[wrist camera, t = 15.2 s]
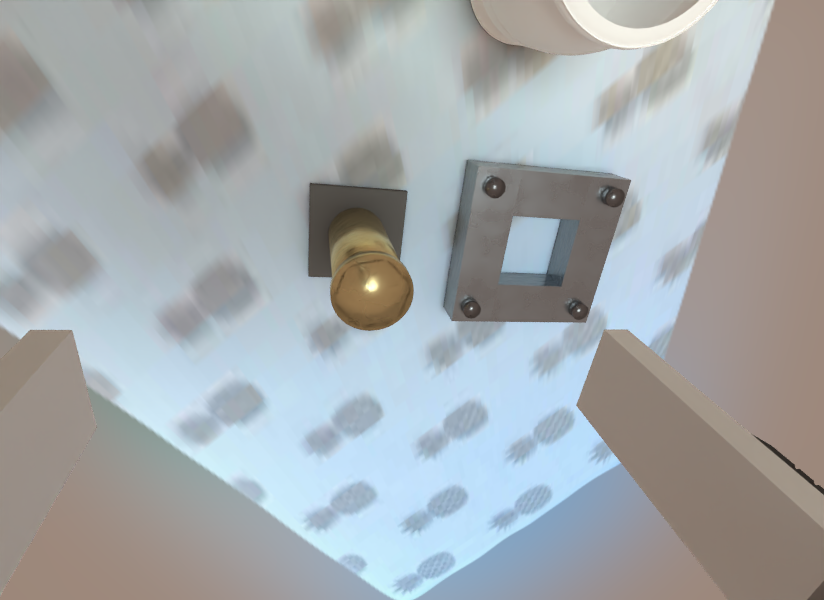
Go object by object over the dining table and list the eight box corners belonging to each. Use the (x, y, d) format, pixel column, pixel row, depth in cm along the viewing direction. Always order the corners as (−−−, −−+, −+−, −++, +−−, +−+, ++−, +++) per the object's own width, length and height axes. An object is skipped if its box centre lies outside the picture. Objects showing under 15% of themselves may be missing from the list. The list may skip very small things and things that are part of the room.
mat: (308, 273, 40) (308, 276, 39) (310, 183, 36) (310, 184, 36) (396, 276, 42) (397, 279, 41) (406, 190, 38) (407, 192, 38)
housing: (443, 306, 44) (454, 325, 41) (467, 159, 38) (481, 167, 35) (570, 308, 47) (590, 326, 44) (610, 173, 41) (637, 182, 38)
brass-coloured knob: (325, 262, 39) (329, 330, 28) (327, 203, 37) (332, 253, 26) (383, 264, 40) (408, 330, 30) (389, 207, 38) (418, 257, 27)
